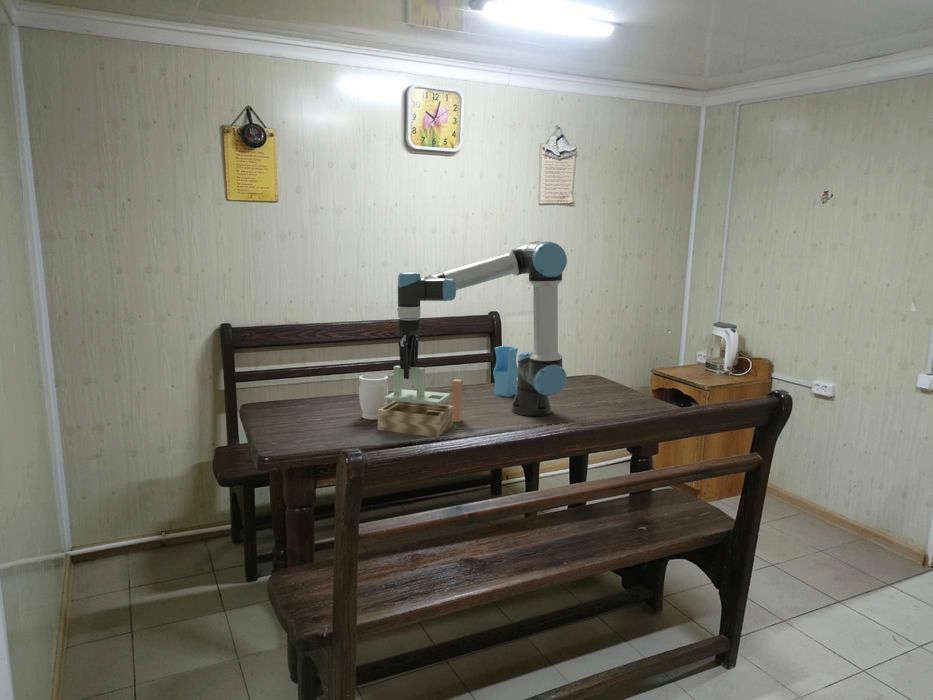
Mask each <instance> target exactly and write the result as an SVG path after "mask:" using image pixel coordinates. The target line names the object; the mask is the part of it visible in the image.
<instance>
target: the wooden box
mask: <svg viewBox="0 0 933 700" xmlns="http://www.w3.org/2000/svg"><path fill="white" fill-rule="evenodd" d="M453 410H454V406H452V405H449V404H448V405H447V404H439V405H431V404H421V403H410V402H400V401H390V402H389V403H387V405H385V406H383V407H382V408H380V409H378V419H377V430H378V431H385V432H393V433H401V434H409V435H415V436H416V435H418V436H424V437H430V438H431V437H433V438H440V437H441V436H443V434H445V433H446V432H447V431H449V429H450V428H452V427H453V426H454V422H453Z"/></svg>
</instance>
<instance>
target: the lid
mask: <svg viewBox="0 0 933 700" xmlns="http://www.w3.org/2000/svg"><path fill="white" fill-rule="evenodd" d="M410 369H411V376H415V377H416V389H415V390H414V389H407V388H403V386H402V385H403V369H400V365H394V366H393V371H392V372H393V391H392V392H391V393H388V395H387V396H385V397H384V400H387V401H390V402H392V401H400V402H410V403H421V404H431V405H439V404H440V405H442V403H443V402H445V401H446V400H447V399H449V398H450V397H451V393H449V392H448V393H447V392H439V391H437V392H436V391H426V388H425V387H426V385H425V384H426V383H425V382H426V380H425V377H426V373H425V372H426V370H425V369H426V367H420V366H419V367H418V366H417V367H410Z"/></svg>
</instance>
